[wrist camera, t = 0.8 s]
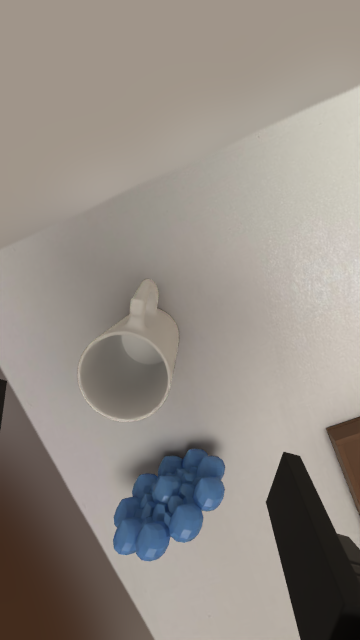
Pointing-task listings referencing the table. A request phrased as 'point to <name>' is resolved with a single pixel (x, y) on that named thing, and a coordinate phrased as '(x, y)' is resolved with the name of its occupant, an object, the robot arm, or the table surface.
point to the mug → (131, 361)
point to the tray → (348, 453)
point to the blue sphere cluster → (168, 504)
